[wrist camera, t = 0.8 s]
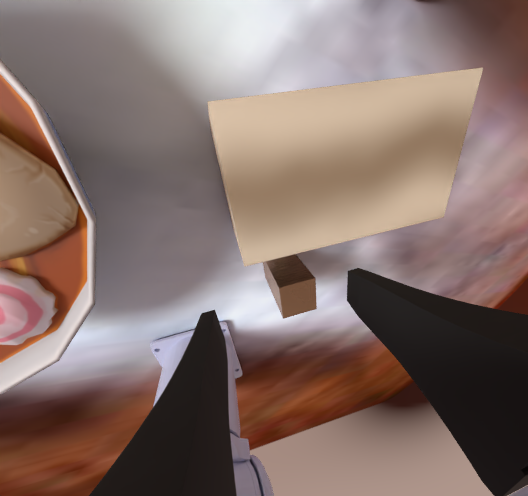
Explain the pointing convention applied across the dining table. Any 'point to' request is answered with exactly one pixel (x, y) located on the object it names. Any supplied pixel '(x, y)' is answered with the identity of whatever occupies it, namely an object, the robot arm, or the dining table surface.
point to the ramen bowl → (39, 239)
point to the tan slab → (340, 159)
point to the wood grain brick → (291, 285)
